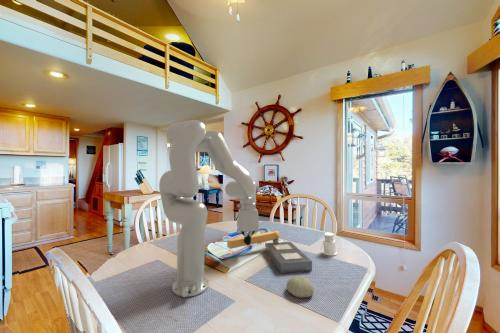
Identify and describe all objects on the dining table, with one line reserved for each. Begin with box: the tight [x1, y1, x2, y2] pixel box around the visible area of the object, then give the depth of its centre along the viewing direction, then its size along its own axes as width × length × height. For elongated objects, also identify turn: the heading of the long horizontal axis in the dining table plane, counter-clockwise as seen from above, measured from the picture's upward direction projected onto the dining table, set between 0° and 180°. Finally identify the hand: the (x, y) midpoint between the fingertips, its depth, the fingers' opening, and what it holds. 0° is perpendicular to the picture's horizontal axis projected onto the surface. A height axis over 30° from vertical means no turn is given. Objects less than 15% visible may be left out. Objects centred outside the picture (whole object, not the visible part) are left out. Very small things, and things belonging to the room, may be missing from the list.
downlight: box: [320, 232, 339, 256], centre depth 114 cm, size 8×7×10 cm
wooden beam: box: [226, 230, 280, 250], centre depth 113 cm, size 30×4×4 cm, turn 122°
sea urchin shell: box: [286, 275, 315, 299], centre depth 78 cm, size 9×8×8 cm
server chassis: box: [264, 239, 313, 274], centre depth 107 cm, size 30×14×5 cm, turn 12°
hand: (247, 244), depth 107 cm, fingers closed
